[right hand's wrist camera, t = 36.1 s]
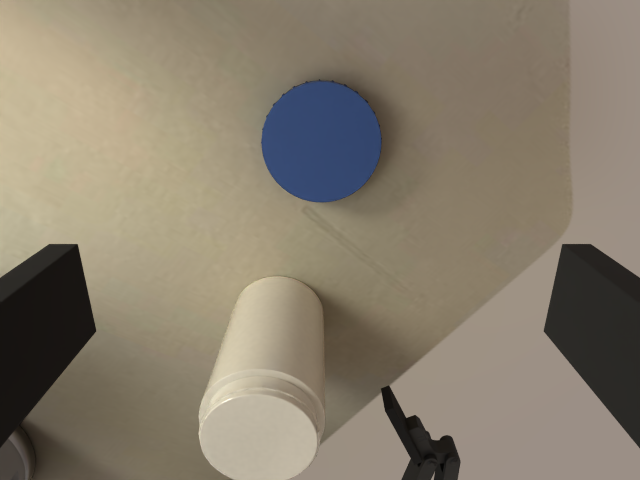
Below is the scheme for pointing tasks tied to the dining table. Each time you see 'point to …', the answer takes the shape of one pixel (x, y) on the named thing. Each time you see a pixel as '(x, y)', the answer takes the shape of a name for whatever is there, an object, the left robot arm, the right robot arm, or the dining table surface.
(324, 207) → the dining table surface
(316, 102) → the lid
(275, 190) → the dining table surface
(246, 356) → the jar
